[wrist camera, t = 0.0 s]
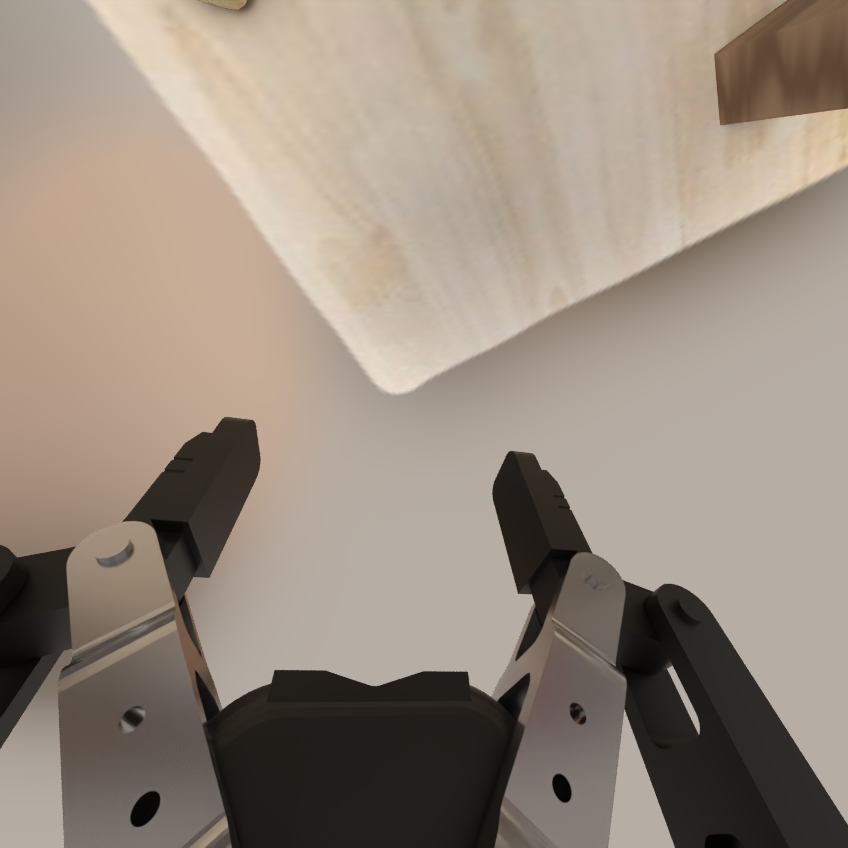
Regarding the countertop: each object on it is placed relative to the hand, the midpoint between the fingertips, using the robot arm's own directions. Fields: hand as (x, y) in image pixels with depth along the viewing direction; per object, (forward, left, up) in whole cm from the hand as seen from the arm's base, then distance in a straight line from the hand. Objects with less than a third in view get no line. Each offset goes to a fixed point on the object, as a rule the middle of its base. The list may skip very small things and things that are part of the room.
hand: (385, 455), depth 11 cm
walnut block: (-19, +26, -29) cm, 43 cm away
